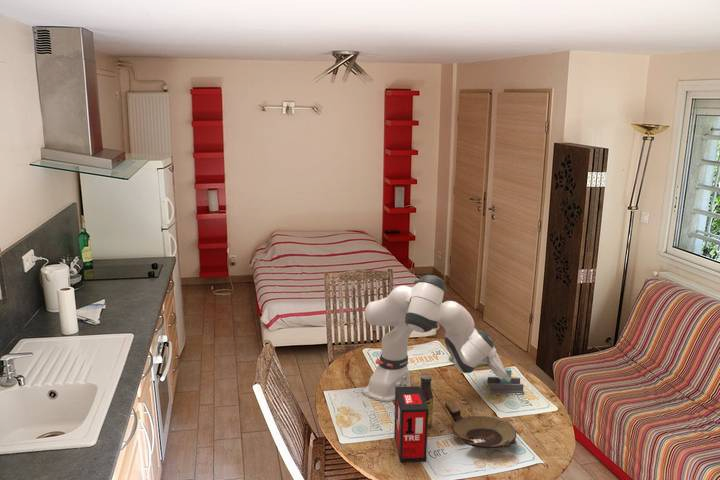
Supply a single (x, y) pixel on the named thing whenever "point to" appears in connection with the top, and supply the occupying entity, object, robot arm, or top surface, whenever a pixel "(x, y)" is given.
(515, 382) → the slotted rack
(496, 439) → the frying pan
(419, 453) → the cleaning product box
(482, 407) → the top surface
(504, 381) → the teal ridged block
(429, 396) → the sauce bottle
